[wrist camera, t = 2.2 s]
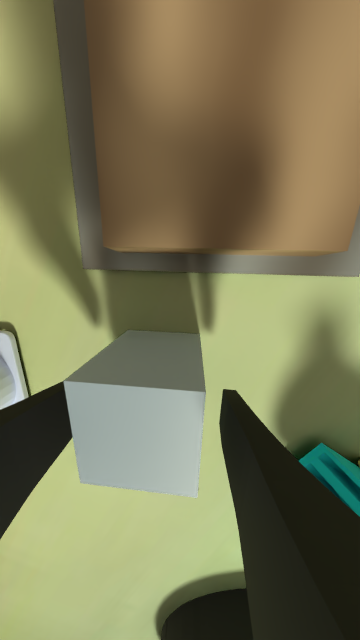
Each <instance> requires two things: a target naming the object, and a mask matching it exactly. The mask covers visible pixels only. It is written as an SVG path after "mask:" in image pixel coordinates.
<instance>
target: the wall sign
mask: <svg viewBox="0 0 360 640" xmlns="http://www.w3.org/2000/svg"><path fill="white" fill-rule="evenodd" d="M161 640H253V633H252V625H251V617H250V610H249V602H248V595H247V588H245V589H234V590H227V591H221V592H216V593H212V594H208V595H205V596H202V597H199V598H196V599H194V600H191V601H189V602H187V603H185V604H183V605H182V606H180V607H179V608H177V609H176V610H175V611H174V612H173V613H172V614H171V615H170V616H169V617H168V618H167V619H166V621H165V623H164V626H163V629H162V636H161Z"/></svg>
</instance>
